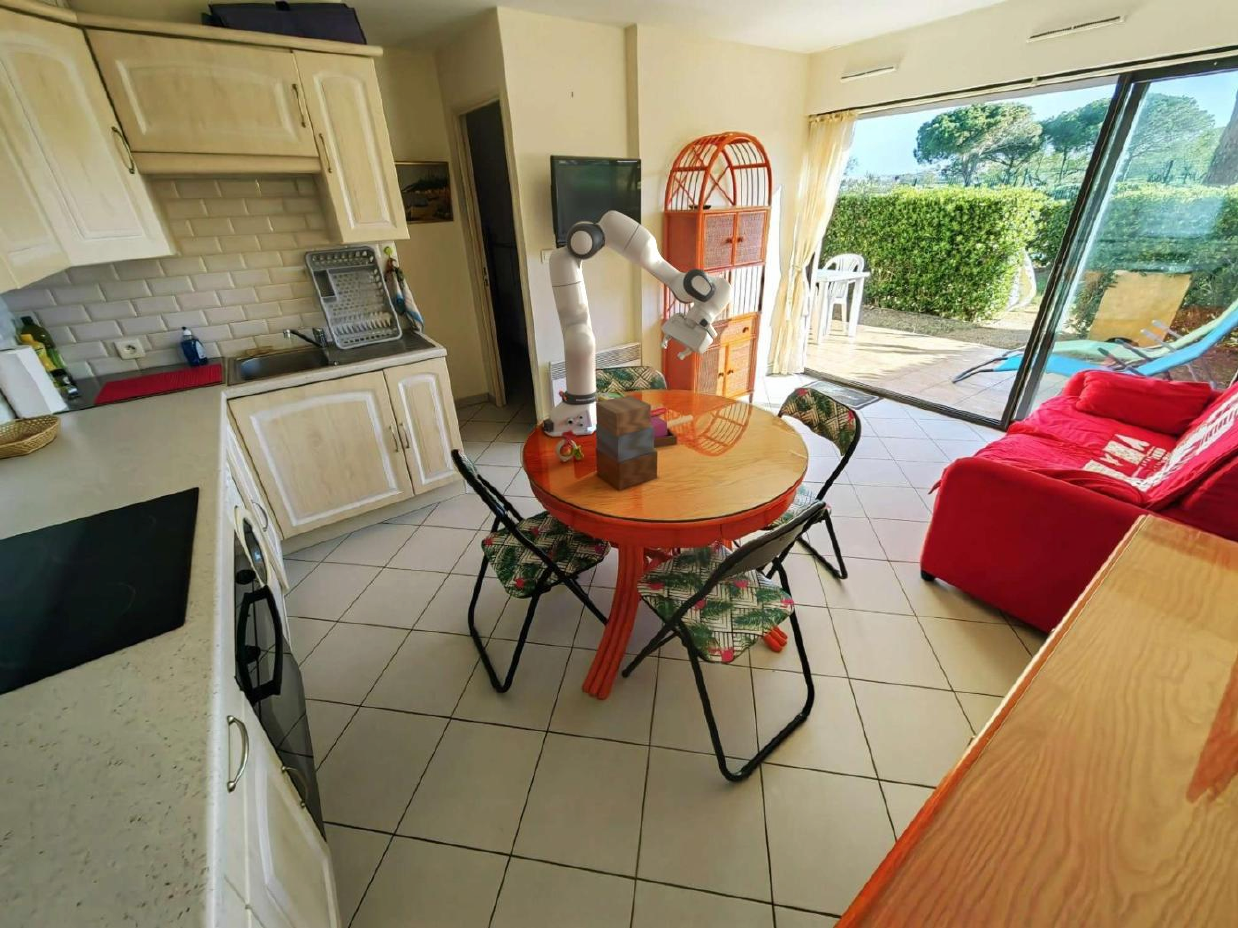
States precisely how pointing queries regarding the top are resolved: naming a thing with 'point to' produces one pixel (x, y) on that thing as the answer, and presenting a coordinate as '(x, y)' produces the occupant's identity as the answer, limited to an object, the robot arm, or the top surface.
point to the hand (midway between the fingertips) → (670, 352)
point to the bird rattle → (564, 449)
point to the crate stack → (625, 442)
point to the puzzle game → (609, 396)
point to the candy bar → (658, 410)
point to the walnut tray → (666, 439)
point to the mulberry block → (667, 425)
